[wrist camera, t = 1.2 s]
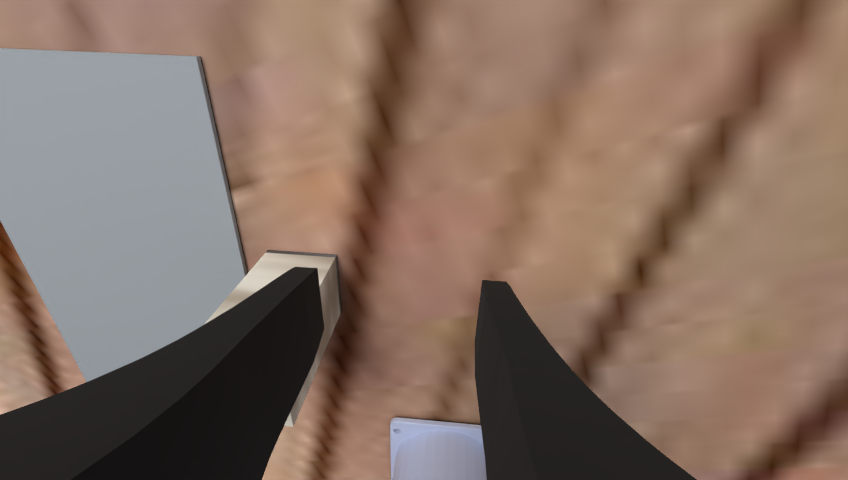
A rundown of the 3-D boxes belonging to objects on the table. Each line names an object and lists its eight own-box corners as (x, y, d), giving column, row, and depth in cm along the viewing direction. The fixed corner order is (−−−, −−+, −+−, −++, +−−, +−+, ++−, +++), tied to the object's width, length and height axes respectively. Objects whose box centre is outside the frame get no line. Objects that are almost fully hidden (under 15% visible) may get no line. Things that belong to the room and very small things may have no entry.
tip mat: (277, 412, 29) (276, 415, 29) (98, 395, 30) (95, 398, 30) (200, 56, 18) (196, 56, 18) (-86, 44, 19) (-94, 44, 18)
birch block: (341, 310, 24) (293, 426, 17) (277, 305, 24) (204, 418, 17) (336, 254, 22) (279, 359, 15) (267, 249, 23) (180, 351, 16)
